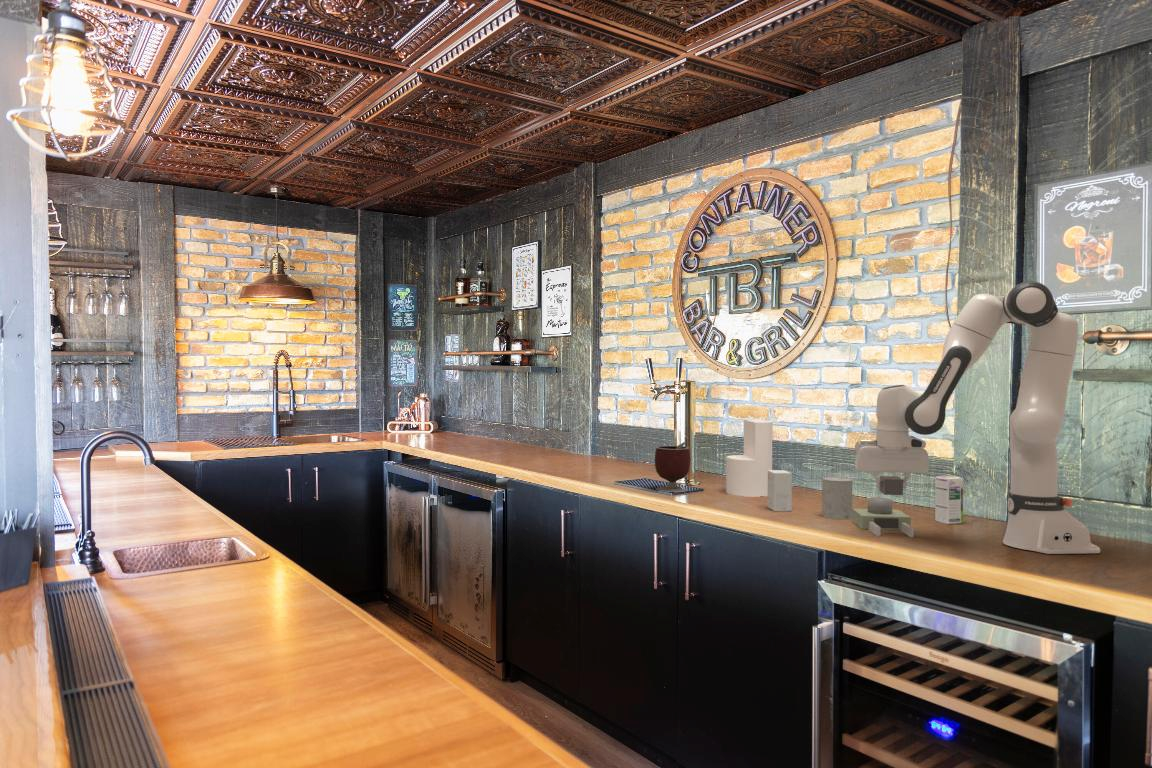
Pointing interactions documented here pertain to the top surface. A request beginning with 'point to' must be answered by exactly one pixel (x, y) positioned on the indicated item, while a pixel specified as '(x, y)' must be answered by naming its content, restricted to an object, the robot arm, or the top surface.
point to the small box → (779, 490)
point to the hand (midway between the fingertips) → (891, 487)
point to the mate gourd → (672, 465)
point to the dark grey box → (891, 485)
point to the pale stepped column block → (751, 461)
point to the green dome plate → (882, 517)
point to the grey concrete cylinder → (837, 497)
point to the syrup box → (949, 499)
